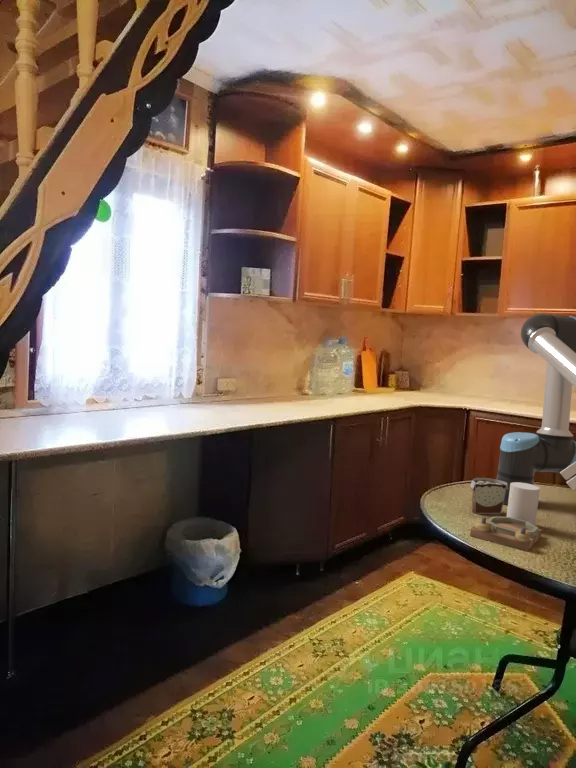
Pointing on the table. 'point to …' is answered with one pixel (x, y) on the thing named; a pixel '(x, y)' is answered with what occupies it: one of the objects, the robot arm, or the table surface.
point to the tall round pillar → (523, 501)
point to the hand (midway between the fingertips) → (565, 481)
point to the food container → (488, 495)
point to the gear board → (507, 531)
